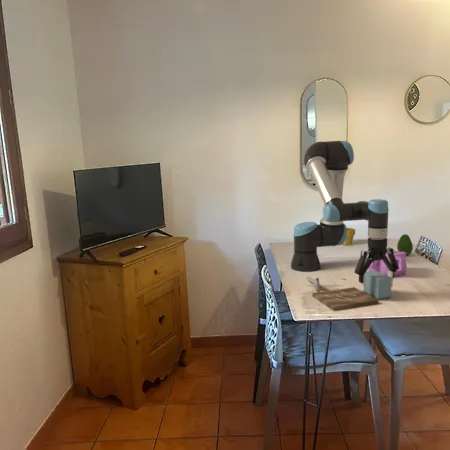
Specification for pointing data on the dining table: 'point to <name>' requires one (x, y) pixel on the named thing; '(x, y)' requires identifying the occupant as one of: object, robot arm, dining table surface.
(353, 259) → the dining table surface
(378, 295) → the block
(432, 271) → the dining table surface
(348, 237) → the plant pot
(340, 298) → the board
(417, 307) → the dining table surface
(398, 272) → the pink lidded pot
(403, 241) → the avocado
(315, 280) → the caliper
